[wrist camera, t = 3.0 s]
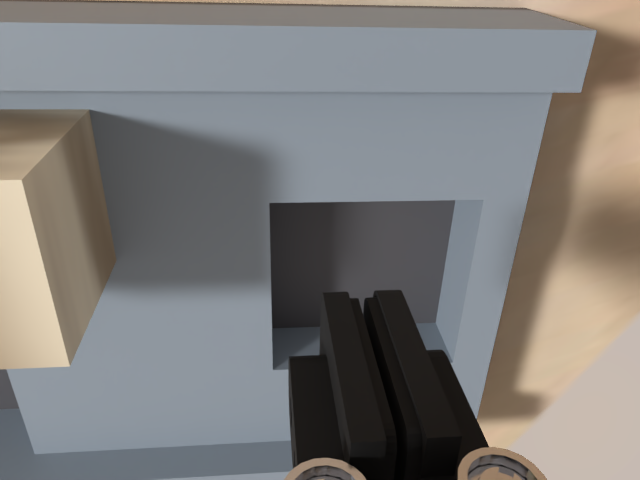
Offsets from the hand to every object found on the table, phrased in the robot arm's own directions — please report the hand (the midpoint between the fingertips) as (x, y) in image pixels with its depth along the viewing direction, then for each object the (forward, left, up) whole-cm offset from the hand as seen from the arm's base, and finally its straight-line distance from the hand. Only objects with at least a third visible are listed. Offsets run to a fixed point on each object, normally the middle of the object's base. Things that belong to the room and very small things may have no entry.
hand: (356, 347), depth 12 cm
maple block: (+9, -1, -7) cm, 12 cm away
